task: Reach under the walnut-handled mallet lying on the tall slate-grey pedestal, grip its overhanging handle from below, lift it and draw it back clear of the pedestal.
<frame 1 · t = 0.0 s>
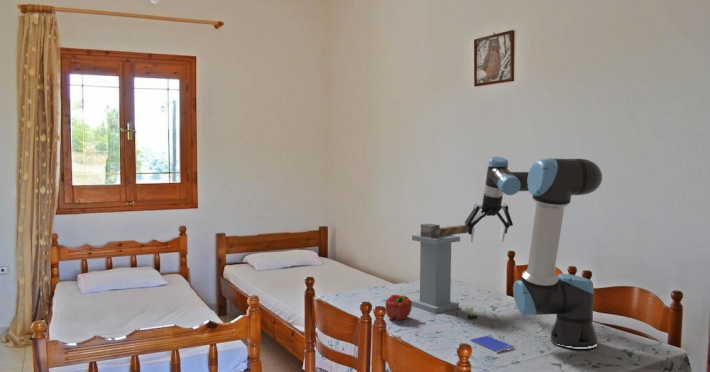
hand: (486, 240, 242), 28 cm above the table, tool tilted 20°, fingers open, 13 cm apart
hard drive: (491, 347, 195), on the table
vegetable: (398, 319, 224), on the table
stand: (446, 303, 246), on the table
mallet: (447, 234, 244), point 30 cm above the table, touching stand
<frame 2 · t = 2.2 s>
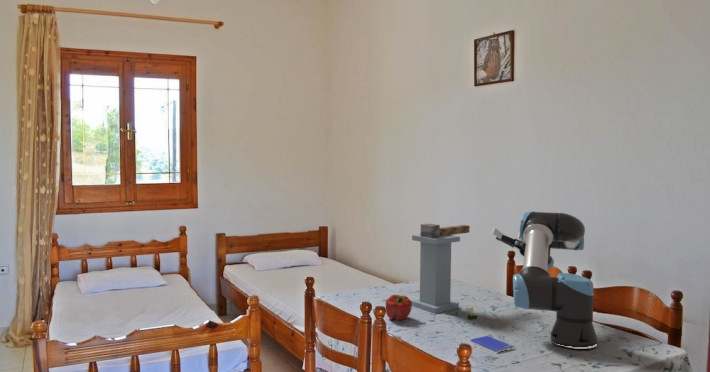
hand: (505, 232, 249), 30 cm above the table, tool pointing upward, fingers open, 13 cm apart
nothing on the table moved.
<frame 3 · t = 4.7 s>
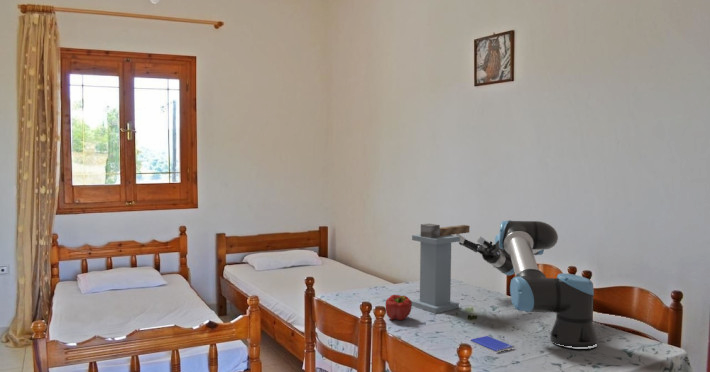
hand: (466, 236, 252), 28 cm above the table, tool pointing upward, fingers open, 13 cm apart
nothing on the table moved.
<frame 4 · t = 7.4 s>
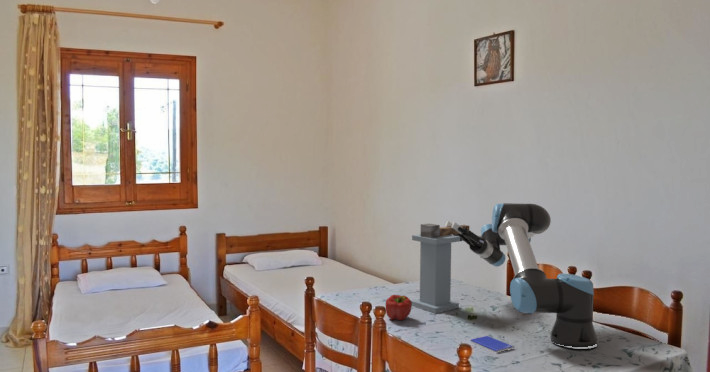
hand: (449, 224, 244), 34 cm above the table, tool pointing upward, fingers closed on mallet, 3 cm apart
mallet: (447, 234, 244), point 30 cm above the table, touching gripper, stand
everything else where it was.
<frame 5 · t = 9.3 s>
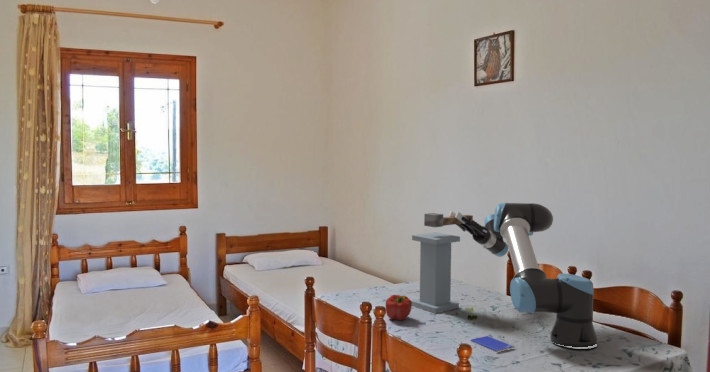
hand: (453, 214, 245), 38 cm above the table, tool pointing upward, fingers closed on mallet, 3 cm apart
mallet: (451, 224, 245), point 34 cm above the table, touching gripper
everything else where it was.
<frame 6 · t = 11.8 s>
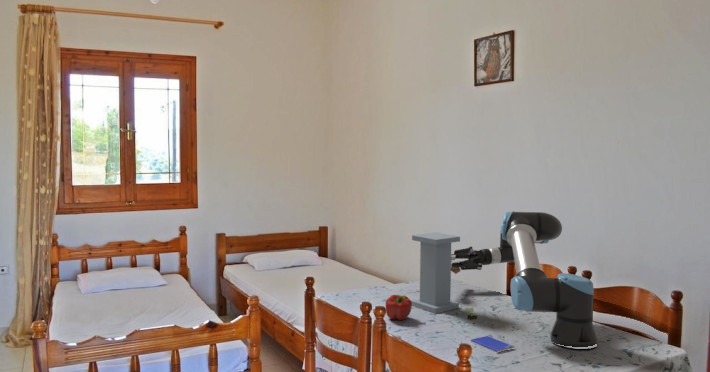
hand: (443, 261, 267), 14 cm above the table, tool horizontal, fingers closed on mallet, 3 cm apart
mallet: (440, 262, 267), point 14 cm above the table, tilted 50°, touching gripper
everything else where it was.
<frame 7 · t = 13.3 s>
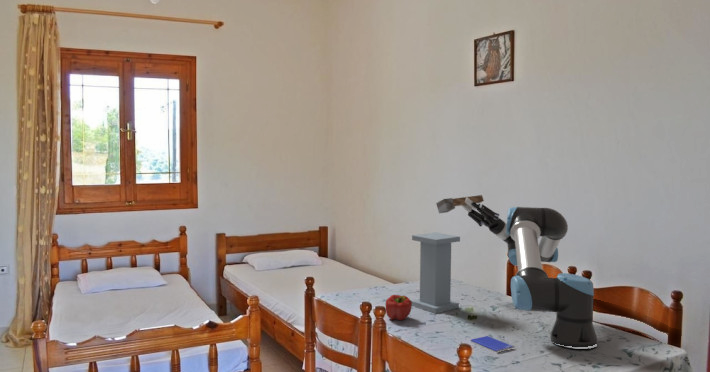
hand: (463, 200, 270), 42 cm above the table, tool pointing upward, fingers closed on mallet, 3 cm apart
mallet: (461, 198, 270), point 43 cm above the table, tilted 156°, touching gripper
everything else where it was.
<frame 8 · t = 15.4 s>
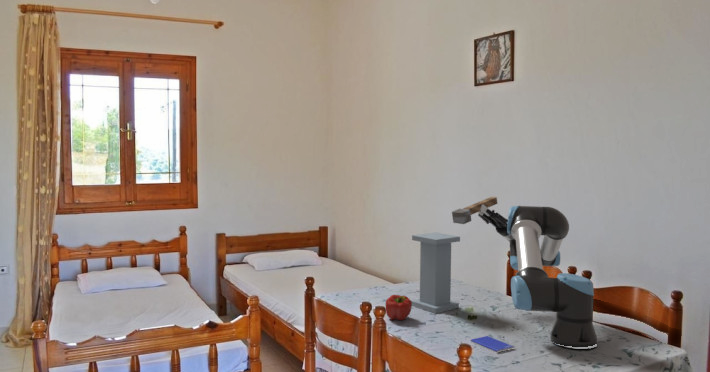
hand: (478, 206, 254), 41 cm above the table, tool pointing upward, fingers closed on mallet, 3 cm apart
mallet: (476, 204, 254), point 42 cm above the table, tilted 167°, touching gripper
everything else where it was.
at the end: mallet touching gripper; mallet point 41.9 cm above the table; the gripper is holding mallet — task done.
